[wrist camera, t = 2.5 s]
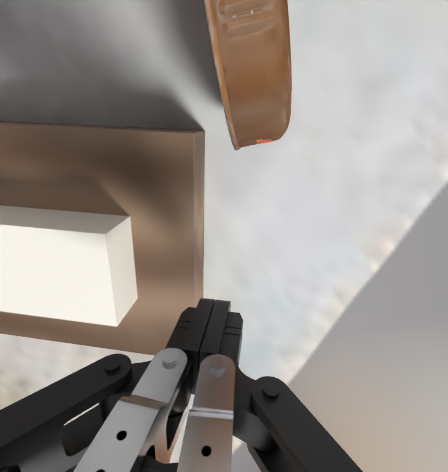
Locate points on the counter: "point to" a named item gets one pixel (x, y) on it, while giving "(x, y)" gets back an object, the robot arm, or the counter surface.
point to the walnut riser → (116, 203)
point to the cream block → (66, 265)
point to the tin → (252, 67)
